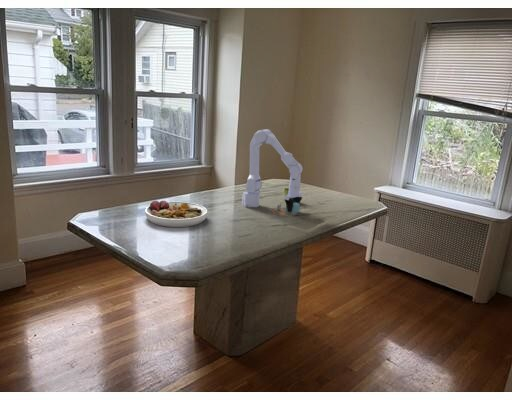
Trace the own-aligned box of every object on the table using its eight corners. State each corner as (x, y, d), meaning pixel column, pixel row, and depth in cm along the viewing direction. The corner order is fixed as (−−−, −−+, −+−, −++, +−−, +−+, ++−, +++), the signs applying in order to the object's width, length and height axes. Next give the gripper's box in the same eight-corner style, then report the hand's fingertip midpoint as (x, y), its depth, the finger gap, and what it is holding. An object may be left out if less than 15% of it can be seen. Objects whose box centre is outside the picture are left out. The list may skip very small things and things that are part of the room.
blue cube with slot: (293, 214, 227) (294, 205, 225) (285, 212, 229) (286, 202, 228) (299, 212, 231) (299, 203, 230) (290, 210, 234) (291, 201, 232)
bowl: (215, 215, 220) (216, 201, 218) (192, 233, 192) (192, 216, 190) (163, 207, 228) (163, 193, 226) (133, 223, 200) (133, 207, 198)
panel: (277, 217, 223) (277, 215, 223) (268, 210, 235) (268, 208, 234) (303, 216, 228) (303, 214, 228) (293, 209, 240) (293, 207, 239)
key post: (276, 210, 231) (276, 204, 230) (275, 209, 232) (276, 203, 231) (280, 210, 232) (281, 204, 231) (279, 209, 233) (280, 203, 232)
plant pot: (298, 206, 246) (300, 192, 244) (282, 205, 246) (283, 191, 244) (297, 202, 255) (298, 188, 253) (281, 201, 255) (283, 187, 253)
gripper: (294, 189, 218) (291, 214, 222) (307, 185, 230) (305, 209, 234) (282, 187, 222) (280, 211, 226) (296, 183, 234) (294, 206, 237)
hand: (292, 210), depth 230 cm, fingers closed on blue cube with slot, 5 cm apart
